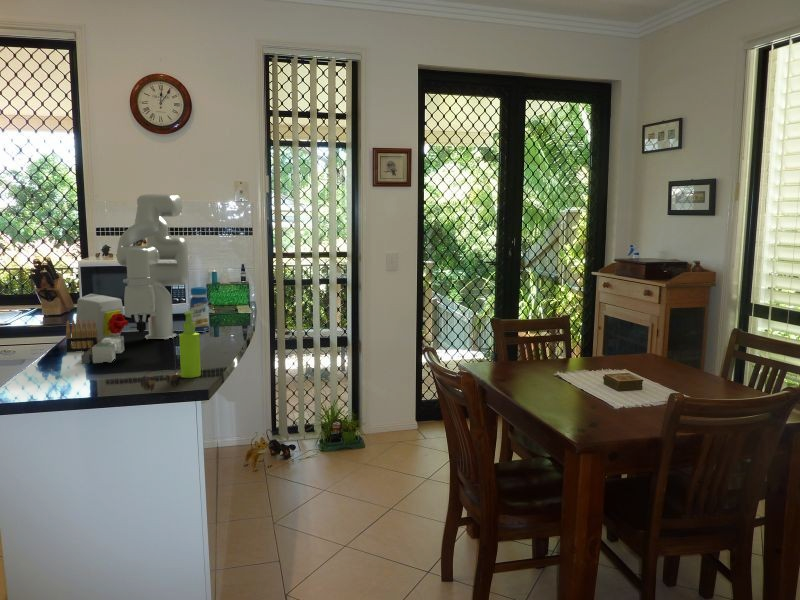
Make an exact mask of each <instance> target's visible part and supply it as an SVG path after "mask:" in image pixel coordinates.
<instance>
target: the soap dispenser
mask: <svg viewBox="0 0 800 600" xmlns="http://www.w3.org/2000/svg"><path fill="white" fill-rule="evenodd" d="M193 313H195V311H190V310H186V311H185V312H184V313H183V315H185V321H184V322H183V323H182V324H183V325H182V326H183V332H181V333H180V334H179V335H178V337H179V360H180V361H179V362H180V365H179V366H180V377H181V378H183V379H185V378H186V379H188V378H189V379H191V378H193V379H194V378H197V377H200V376H202V374H201V373H202V371H201V370H202V369H201V343H200V341H201V340H200V333H196V332H195V322H193V321H192V314H193Z"/></svg>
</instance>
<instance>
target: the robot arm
mask: <svg viewBox="0 0 800 600" xmlns="http://www.w3.org/2000/svg"><path fill="white" fill-rule="evenodd" d="M136 205H137V209H136V212H135V213H136V214H135V219H134V223H133V225H131V226H130V227H128V229H126V230H125V231H124V232H123V233H122V234H121V236H120V238H119V240H118V244H117V248H116V250H117V251H116V259H117V263H118V264H119V265H120V266H121V267H126V276H127V278H124V279H123V280H122V283H123V284H126V286H124V287H125V288H124V299H123V301H124V302H123V303H124V304H123V305H124V306H123V311H124V317H125V318H130V319H132V320H134V321H135V323H136V331H138V333H139V334H141V333H143V334H144V333H145V332H146V331H147V323H148V334H145V335H144V338H146V340H148V339H164V340H170V339H169V338H172V339H175V338H174V337H176V336H177V337H178V334H177V333H174V328H173V327H174V326H173V323H174V322H173V305H172V303H173V300H172V294H171V292H169V290H168V289H167V288H166V287H171V286H172V287H173V286H175V287H177V286H185V285H187V283H188V281H189V251H188V243H187V241H186V239H185V238H183V237H179V236H174V237H172V236H171V237H170V236H169V233H170V232H169V225H168V223H167V222H166V220H165V219H164V217H165V218H166V217H169V218H171V217H177V216H179V215H181V213H182V212H183V211H182V210H183V201H182V198H181V197H180V196H179V195H178V194H162V193H161V194H157V193H155V194H154V193H153V194H149V193H147V194H142V195H139V196H138V197H137V199H136ZM145 239H146V245H133V244H134V243H136V242H138V241H141V240H145ZM159 261H176V262H169V263H168V262H160V263H159ZM140 315H142V319H140ZM147 321H148V322H147ZM177 337H176V338H177Z"/></svg>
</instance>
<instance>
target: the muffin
mask: <svg viewBox="0 0 800 600" xmlns="http://www.w3.org/2000/svg"><path fill="white" fill-rule="evenodd" d="M110 342H111V344H114V342H113V341H112V339H111V338H104V339H102V342H101V343H110ZM116 347H117V346H116V344H115V351H116Z"/></svg>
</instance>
